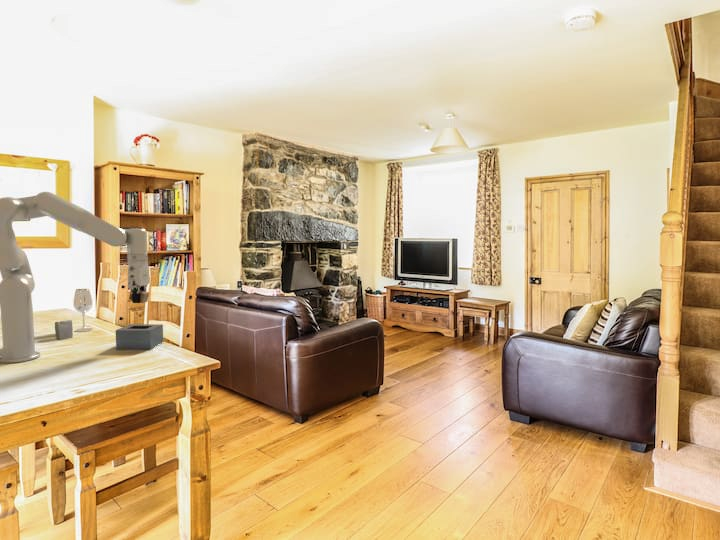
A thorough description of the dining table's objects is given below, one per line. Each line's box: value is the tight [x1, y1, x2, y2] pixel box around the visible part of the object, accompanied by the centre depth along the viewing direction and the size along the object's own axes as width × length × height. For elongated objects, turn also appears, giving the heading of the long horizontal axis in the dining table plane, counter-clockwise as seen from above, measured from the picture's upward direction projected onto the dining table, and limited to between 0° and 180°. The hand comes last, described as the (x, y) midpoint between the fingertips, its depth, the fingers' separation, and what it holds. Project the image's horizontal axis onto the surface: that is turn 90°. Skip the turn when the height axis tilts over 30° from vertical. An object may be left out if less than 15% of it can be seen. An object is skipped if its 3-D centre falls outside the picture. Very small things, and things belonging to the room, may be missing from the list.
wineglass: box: [72, 288, 94, 333], centre depth 219 cm, size 8×8×20 cm
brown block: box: [128, 290, 150, 304], centre depth 188 cm, size 6×4×4 cm, turn 91°
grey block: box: [54, 319, 74, 341], centre depth 203 cm, size 7×9×8 cm
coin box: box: [115, 323, 164, 351], centre depth 190 cm, size 14×12×8 cm
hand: (139, 301), depth 188 cm, fingers closed on brown block, 4 cm apart
